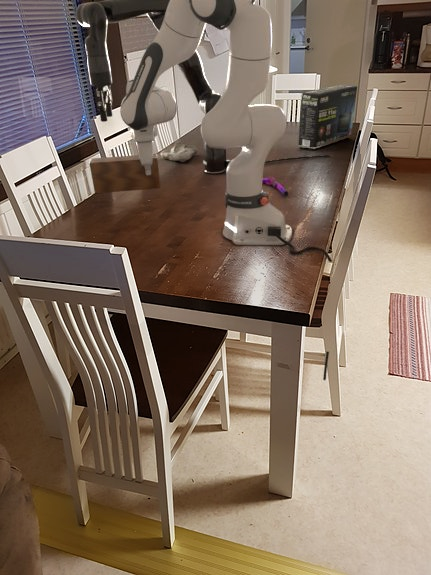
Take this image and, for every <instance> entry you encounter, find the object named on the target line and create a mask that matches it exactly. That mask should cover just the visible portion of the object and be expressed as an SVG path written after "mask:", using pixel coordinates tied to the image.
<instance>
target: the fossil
mask: <svg viewBox="0 0 431 575" xmlns="http://www.w3.org/2000/svg"><path fill="white" fill-rule="evenodd" d="M198 153H199V150H198V148H197V146H195V145H188V146H187V145H186V143H184V142H183V143H181V142H176V143H175V145H174V146H173V147H172V148H171V149H170V150H168V149H165V150H162V151H161V152H160V156H161V158H162V159H163V160H169V161H174V162H177V161H179V162H180V163H185V162H187V161H188V160H190V159H191V158H192V157H193V156H194V155H197V154H198Z"/></svg>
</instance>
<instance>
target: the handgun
mask: <svg viewBox="0 0 431 575" xmlns="http://www.w3.org/2000/svg"><path fill="white" fill-rule="evenodd" d="M262 184H266V185H269V186H272V187H273V188H276V189H278V191H279V192H280V193H281V194H282V195H283V196H284V197H287V196H288V195H289V191H287V189H285V187H283V185H282V184H280V183H279V182H278V181H277V179H275V177H273V176H269V177H263V179H262Z"/></svg>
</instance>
